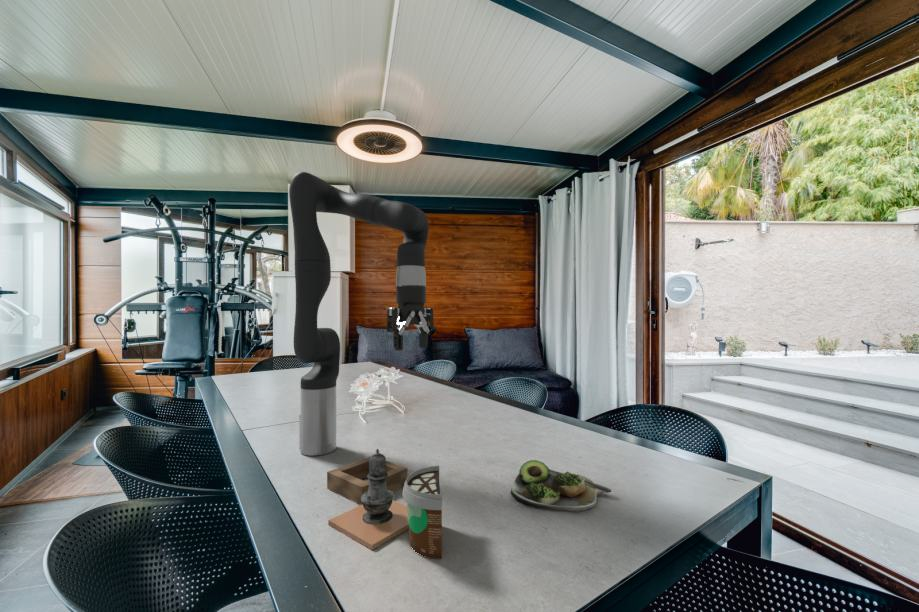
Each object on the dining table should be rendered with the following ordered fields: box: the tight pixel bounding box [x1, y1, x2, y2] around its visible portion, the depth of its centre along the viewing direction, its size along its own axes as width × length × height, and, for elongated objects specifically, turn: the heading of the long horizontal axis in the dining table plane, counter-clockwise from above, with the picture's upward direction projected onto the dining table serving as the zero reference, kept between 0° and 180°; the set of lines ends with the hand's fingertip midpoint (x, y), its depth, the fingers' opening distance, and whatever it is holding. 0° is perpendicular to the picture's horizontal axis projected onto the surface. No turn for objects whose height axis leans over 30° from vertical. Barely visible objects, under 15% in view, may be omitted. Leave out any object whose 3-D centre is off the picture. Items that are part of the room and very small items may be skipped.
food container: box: [402, 465, 443, 560], centre depth 64 cm, size 12×6×10 cm, turn 5°
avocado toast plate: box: [510, 459, 612, 512], centre depth 81 cm, size 19×18×5 cm
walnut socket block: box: [326, 456, 409, 506], centre depth 84 cm, size 12×12×4 cm
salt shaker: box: [361, 448, 395, 525], centre depth 70 cm, size 6×6×12 cm
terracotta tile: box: [328, 499, 409, 550], centre depth 70 cm, size 12×12×1 cm
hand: (411, 349), depth 99 cm, fingers open, 8 cm apart
